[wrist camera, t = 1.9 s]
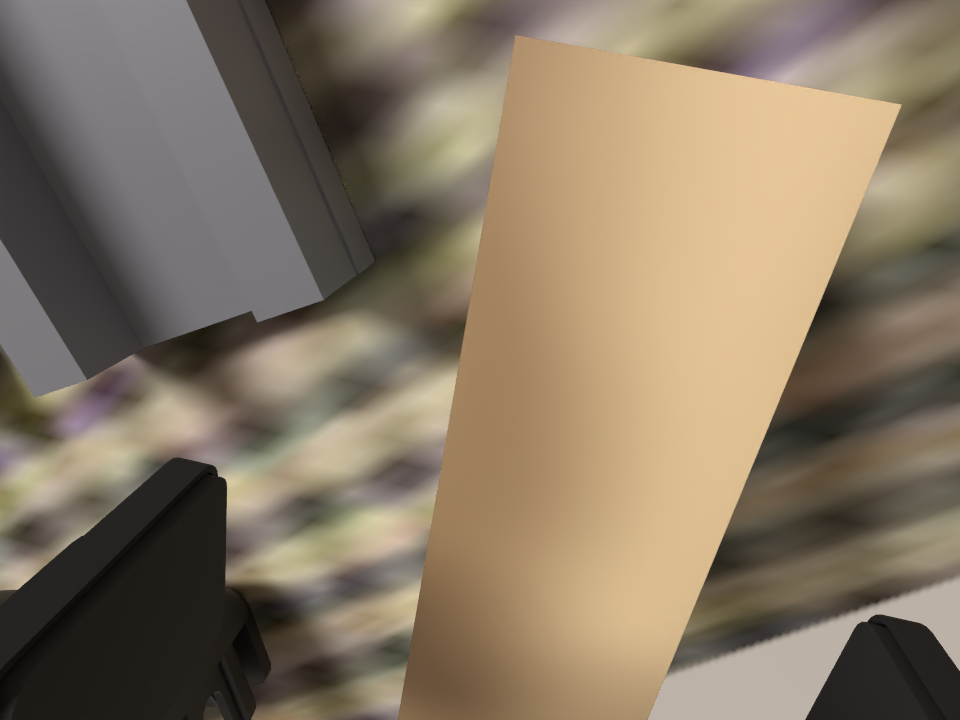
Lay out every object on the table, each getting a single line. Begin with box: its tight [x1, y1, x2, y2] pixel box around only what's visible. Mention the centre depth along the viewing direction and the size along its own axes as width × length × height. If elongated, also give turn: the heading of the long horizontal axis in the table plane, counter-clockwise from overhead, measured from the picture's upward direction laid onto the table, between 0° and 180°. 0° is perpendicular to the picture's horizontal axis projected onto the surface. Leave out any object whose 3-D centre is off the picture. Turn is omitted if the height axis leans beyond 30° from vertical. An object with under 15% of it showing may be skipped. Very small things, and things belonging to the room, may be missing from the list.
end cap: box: [0, 587, 271, 720], centre depth 24 cm, size 10×7×7 cm
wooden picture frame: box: [398, 35, 901, 720], centre depth 14 cm, size 4×14×11 cm, turn 170°
